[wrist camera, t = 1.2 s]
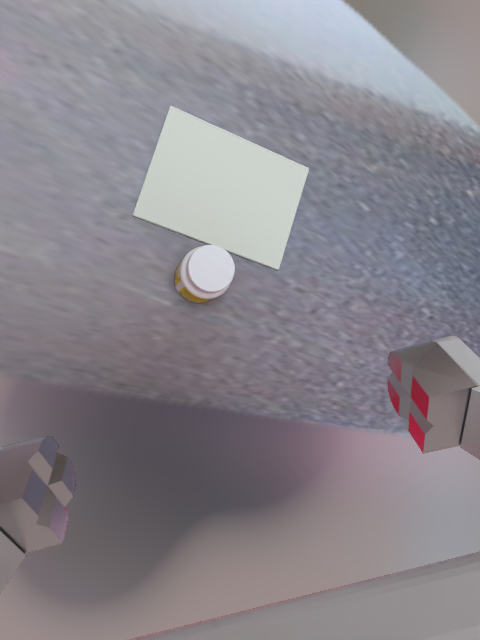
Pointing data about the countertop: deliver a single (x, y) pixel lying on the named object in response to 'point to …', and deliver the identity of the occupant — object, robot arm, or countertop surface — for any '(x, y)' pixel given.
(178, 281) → the supplement bottle
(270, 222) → the rubber mat
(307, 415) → the countertop surface
